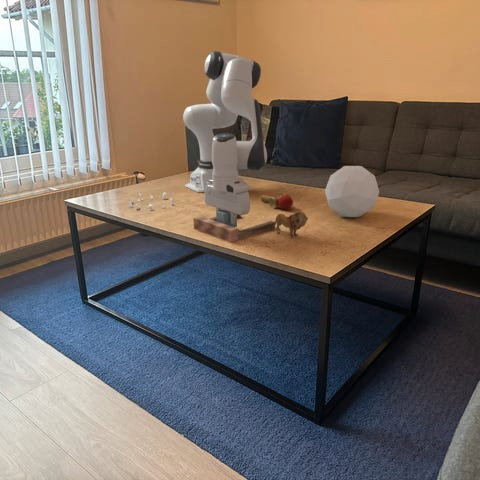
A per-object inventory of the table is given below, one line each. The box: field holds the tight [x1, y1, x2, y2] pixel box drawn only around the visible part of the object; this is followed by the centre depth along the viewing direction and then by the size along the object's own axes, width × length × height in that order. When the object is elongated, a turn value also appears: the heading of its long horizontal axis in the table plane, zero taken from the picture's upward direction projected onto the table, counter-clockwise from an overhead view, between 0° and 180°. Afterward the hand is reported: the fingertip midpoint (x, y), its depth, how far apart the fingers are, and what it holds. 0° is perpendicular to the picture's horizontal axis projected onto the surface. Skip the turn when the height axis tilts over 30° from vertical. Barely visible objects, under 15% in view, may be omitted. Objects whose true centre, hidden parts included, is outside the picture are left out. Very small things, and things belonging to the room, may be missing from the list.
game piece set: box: [128, 192, 175, 211], centre depth 195 cm, size 19×20×4 cm
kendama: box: [260, 193, 294, 211], centre depth 188 cm, size 8×6×18 cm
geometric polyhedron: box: [324, 165, 380, 218], centre depth 172 cm, size 19×20×20 cm
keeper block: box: [215, 210, 238, 228], centre depth 160 cm, size 4×6×6 cm, turn 132°
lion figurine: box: [269, 211, 309, 240], centre depth 155 cm, size 15×5×9 cm, turn 51°
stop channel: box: [193, 214, 276, 243], centre depth 163 cm, size 20×21×4 cm
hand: (226, 221), depth 161 cm, fingers closed on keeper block, 4 cm apart
